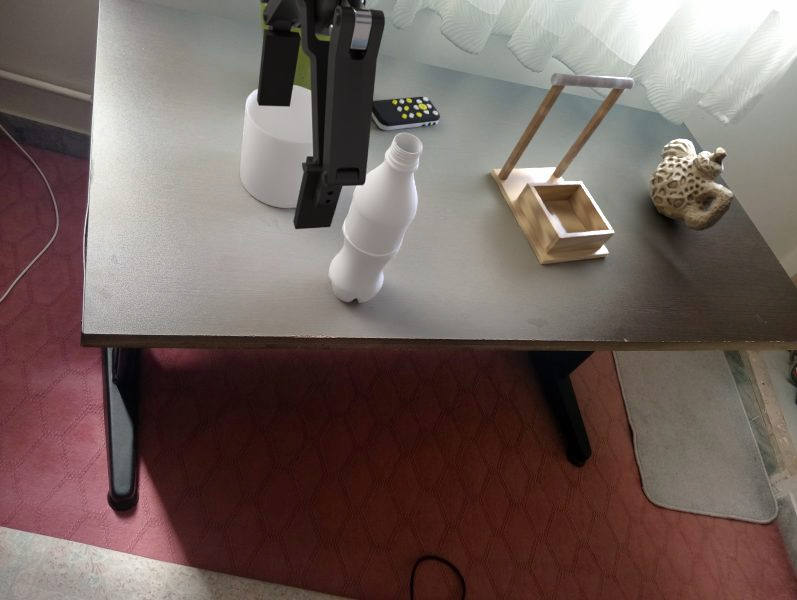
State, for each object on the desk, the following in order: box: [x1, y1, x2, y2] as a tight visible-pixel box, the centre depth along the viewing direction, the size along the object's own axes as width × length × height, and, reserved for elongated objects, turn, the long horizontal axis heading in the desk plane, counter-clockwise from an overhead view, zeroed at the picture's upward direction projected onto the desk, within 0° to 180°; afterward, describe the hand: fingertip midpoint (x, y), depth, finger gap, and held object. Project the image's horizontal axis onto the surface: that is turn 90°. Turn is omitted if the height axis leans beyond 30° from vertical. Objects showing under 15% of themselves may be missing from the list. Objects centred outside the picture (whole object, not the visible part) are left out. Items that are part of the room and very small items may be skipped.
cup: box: [239, 85, 313, 209], centre depth 74 cm, size 12×12×12 cm
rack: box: [490, 72, 635, 265], centre depth 84 cm, size 20×15×21 cm
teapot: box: [648, 138, 735, 232], centre depth 98 cm, size 21×12×15 cm, turn 1°
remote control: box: [371, 96, 441, 131], centre depth 95 cm, size 6×13×2 cm, turn 118°
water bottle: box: [328, 132, 424, 304], centre depth 62 cm, size 7×7×25 cm
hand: (291, 160), depth 44 cm, fingers open, 13 cm apart
